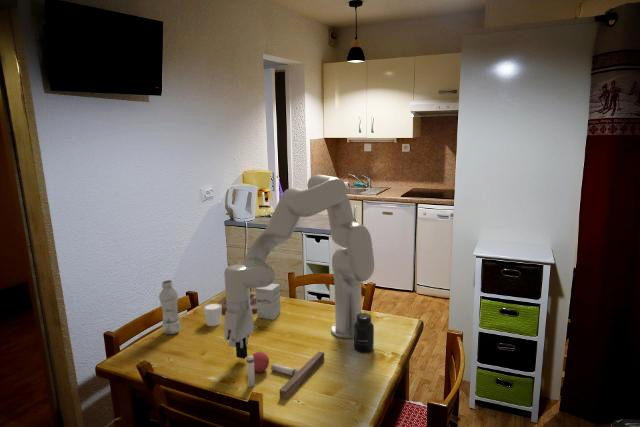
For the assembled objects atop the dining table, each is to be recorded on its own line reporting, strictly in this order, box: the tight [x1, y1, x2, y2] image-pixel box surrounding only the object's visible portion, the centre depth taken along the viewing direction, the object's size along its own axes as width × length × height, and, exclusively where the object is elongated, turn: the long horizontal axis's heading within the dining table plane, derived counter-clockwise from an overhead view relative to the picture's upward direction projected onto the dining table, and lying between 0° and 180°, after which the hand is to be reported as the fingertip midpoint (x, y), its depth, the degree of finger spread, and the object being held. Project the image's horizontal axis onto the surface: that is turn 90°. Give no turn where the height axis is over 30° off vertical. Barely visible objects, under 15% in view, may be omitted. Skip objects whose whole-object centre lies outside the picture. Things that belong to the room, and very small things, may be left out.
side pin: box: [246, 354, 256, 388], centre depth 130 cm, size 2×2×9 cm
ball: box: [252, 351, 270, 373], centre depth 138 cm, size 6×6×6 cm
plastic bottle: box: [158, 279, 182, 335], centre depth 165 cm, size 6×7×20 cm
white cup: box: [203, 302, 222, 327], centre depth 174 cm, size 7×7×7 cm
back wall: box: [278, 350, 325, 400], centre depth 134 cm, size 2×24×2 cm, turn 153°
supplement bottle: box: [353, 312, 375, 354], centre depth 150 cm, size 7×7×12 cm
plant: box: [217, 288, 257, 314], centre depth 190 cm, size 20×20×11 cm
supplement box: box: [255, 283, 281, 321], centre depth 179 cm, size 7×7×13 cm
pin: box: [270, 363, 300, 377], centre depth 137 cm, size 2×2×9 cm
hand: (241, 356), depth 145 cm, fingers closed
